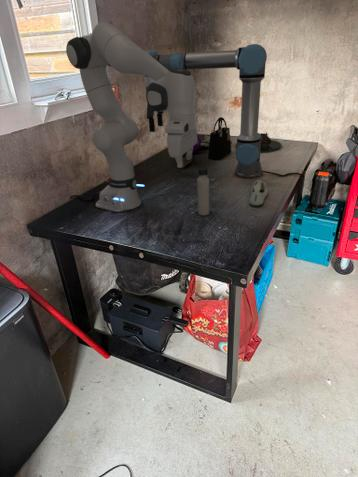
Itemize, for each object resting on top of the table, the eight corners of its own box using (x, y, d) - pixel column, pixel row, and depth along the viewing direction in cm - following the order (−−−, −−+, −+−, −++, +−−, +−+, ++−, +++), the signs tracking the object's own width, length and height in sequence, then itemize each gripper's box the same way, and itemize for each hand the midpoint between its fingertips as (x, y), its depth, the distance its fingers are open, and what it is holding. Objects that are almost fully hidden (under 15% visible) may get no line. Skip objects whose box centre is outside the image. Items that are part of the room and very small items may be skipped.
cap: (196, 173, 140) (196, 168, 139) (204, 171, 142) (204, 166, 140) (201, 176, 137) (201, 171, 136) (209, 174, 139) (209, 169, 137)
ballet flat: (269, 188, 169) (270, 173, 165) (265, 208, 149) (266, 191, 145) (252, 187, 171) (253, 172, 167) (246, 206, 151) (247, 190, 147)
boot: (194, 157, 223) (193, 127, 213) (188, 169, 203) (187, 135, 193) (182, 157, 225) (180, 127, 215) (174, 168, 205) (172, 136, 194)
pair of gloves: (197, 151, 236) (197, 144, 233) (182, 143, 257) (182, 137, 254) (233, 145, 246) (233, 137, 243) (216, 138, 266) (216, 131, 264)
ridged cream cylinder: (195, 212, 150) (194, 169, 140) (206, 209, 152) (205, 167, 142) (201, 216, 146) (200, 172, 136) (211, 213, 147) (211, 170, 137)
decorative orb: (204, 151, 235) (204, 129, 228) (194, 156, 225) (193, 134, 217) (186, 149, 243) (186, 128, 235) (175, 154, 232) (174, 132, 224)
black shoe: (250, 138, 260) (251, 126, 256) (289, 145, 237) (291, 132, 233) (223, 147, 242) (223, 134, 237) (263, 155, 219) (264, 141, 215)
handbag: (219, 160, 214) (219, 120, 202) (206, 159, 218) (206, 119, 206) (232, 152, 229) (233, 114, 216) (220, 151, 233) (220, 114, 221)
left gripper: (184, 117, 120) (186, 154, 127) (162, 129, 104) (166, 171, 110) (201, 117, 118) (201, 155, 125) (181, 129, 102) (183, 172, 108)
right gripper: (153, 83, 178) (157, 124, 189) (137, 88, 157) (141, 134, 168) (167, 82, 176) (169, 123, 187) (151, 88, 156) (155, 134, 166)
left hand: (184, 163), depth 118 cm, fingers open, 8 cm apart
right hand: (156, 128), depth 177 cm, fingers open, 13 cm apart
